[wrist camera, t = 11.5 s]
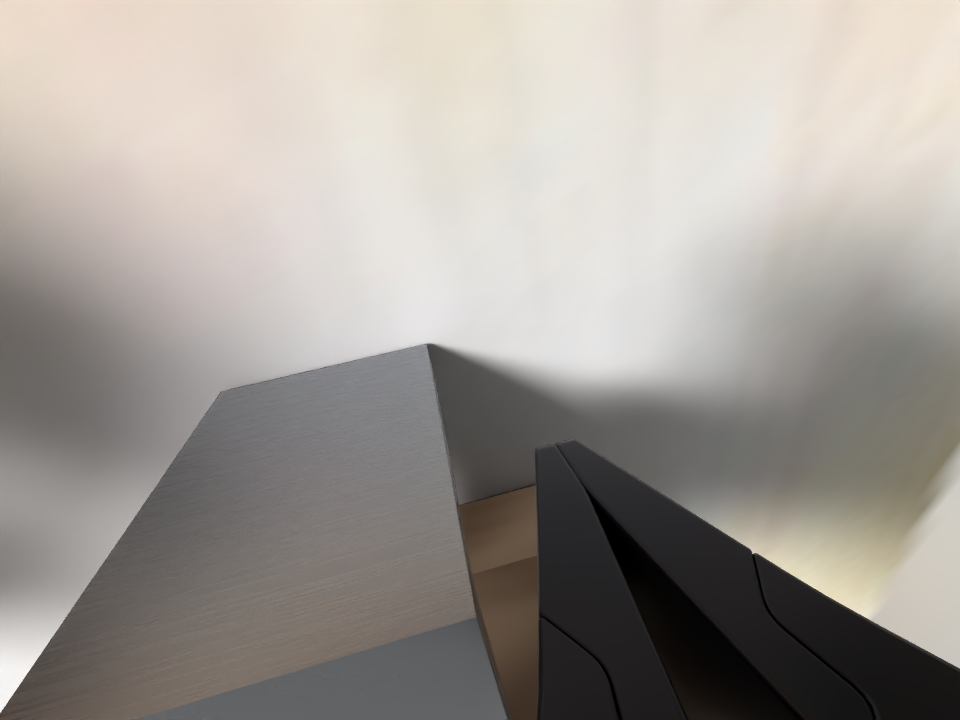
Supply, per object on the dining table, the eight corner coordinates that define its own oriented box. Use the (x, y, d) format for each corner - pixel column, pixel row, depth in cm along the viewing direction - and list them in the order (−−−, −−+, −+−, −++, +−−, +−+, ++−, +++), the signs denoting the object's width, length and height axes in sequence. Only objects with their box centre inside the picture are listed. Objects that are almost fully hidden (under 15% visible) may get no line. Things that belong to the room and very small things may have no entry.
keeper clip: (426, 343, 10) (476, 616, 4) (465, 495, 13) (527, 787, 7) (220, 391, 10) (-40, 771, 4) (306, 538, 12) (231, 890, 6)
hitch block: (542, 482, 13) (669, 765, 7) (557, 613, 17) (648, 867, 11) (233, 567, 12) (84, 971, 6) (324, 685, 16) (285, 1002, 10)
